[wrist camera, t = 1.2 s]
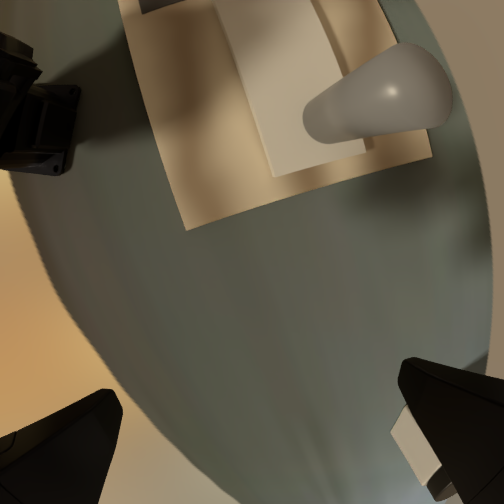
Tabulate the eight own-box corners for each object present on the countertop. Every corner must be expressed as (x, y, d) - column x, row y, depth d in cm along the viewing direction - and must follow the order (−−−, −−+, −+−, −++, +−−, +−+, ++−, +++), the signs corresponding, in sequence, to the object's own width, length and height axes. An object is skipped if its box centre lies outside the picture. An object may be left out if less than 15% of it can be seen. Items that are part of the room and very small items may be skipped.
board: (188, 227, 19) (186, 230, 18) (111, -44, 12) (107, -50, 11) (424, 156, 19) (433, 156, 18) (317, -79, 12) (320, -86, 11)
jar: (456, 396, 28) (504, 452, 17) (413, 439, 29) (451, 499, 18) (429, 378, 26) (489, 448, 14) (378, 429, 27) (421, 504, 16)
